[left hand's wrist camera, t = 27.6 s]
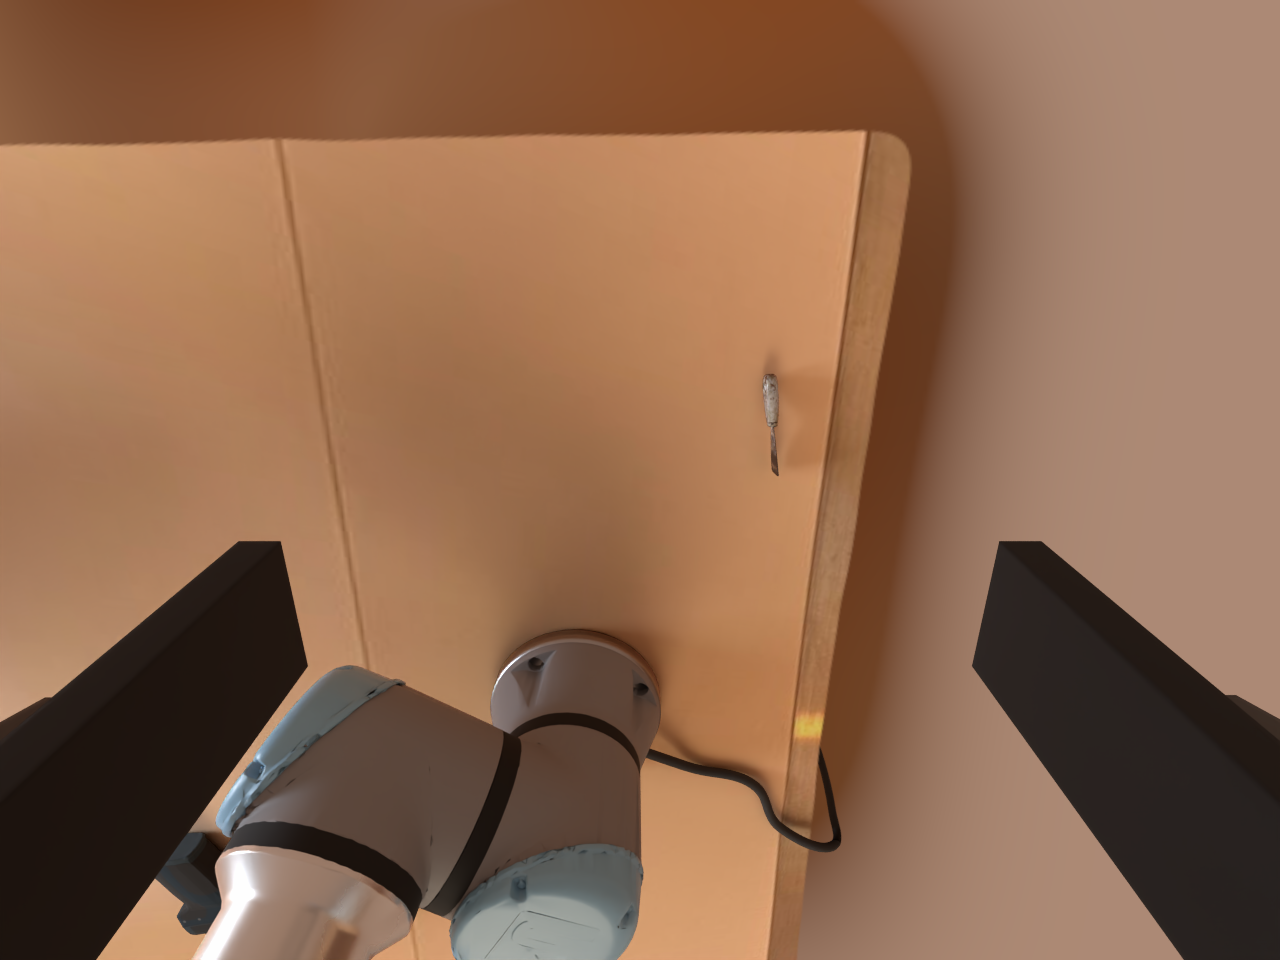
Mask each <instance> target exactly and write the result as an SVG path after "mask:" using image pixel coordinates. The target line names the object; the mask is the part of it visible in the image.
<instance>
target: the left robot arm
mask: <svg viewBox="0 0 1280 960" xmlns="http://www.w3.org/2000/svg"><path fill="white" fill-rule="evenodd" d="M307 667H308V664H307V660H306V655H305V651H304V646H303V641H302V637H301V632H300V628H299V623H298V619H297V614H296V609H295V605H294V600H293V596H292V591H291V586H290V582H289V577H288V573H287V568H286V564H285V559H284V554H283V550H282V545H281V541H238V542H237V543H236V544H235V545H234V546H232V547H231V548H230V549H229V550H228V551H227V552H225V553H224V554H223V555H222V556H221V557H219V558H218V559H217V560H216V561H215V562H213V563H212V564H211V565H210V566H209V567H207V568H206V569H205V570H204V571H203V572H201V573H200V574H199V575H198V576H197V577H195V578H194V579H193V580H192V581H191V582H189V583H188V584H187V585H186V586H185V587H183V588H182V589H181V590H180V591H179V592H177V593H176V594H175V595H174V596H173V597H171V598H170V599H169V600H168V601H167V602H166V603H164V604H163V605H162V606H161V607H160V608H158V609H157V610H156V611H155V612H154V613H152V614H151V615H150V616H149V617H148V618H146V619H145V620H144V621H143V622H142V623H140V624H139V625H138V626H137V627H136V628H134V629H133V630H132V631H131V632H130V633H128V634H127V635H126V636H125V637H124V638H122V639H121V640H120V641H119V642H118V643H116V644H115V645H114V646H113V647H112V648H111V649H109V650H108V651H107V652H106V653H105V654H103V655H102V656H101V657H100V658H99V659H97V660H96V661H95V662H94V663H93V664H91V665H90V666H89V667H88V668H87V669H85V670H84V671H83V672H82V673H81V674H79V675H78V676H77V677H76V678H75V679H73V680H72V681H71V682H70V683H69V684H67V685H66V686H65V687H64V688H63V689H61V690H60V691H59V692H58V693H57V694H55V695H54V696H53V697H52V698H43V699H41V700H40V701H38V702H36V703H34V704H32V705H31V706H29V707H27V708H25V709H23V710H22V711H20V712H18V713H16V714H14V715H13V716H11V717H9V718H7V719H5V720H3V721H2V722H0V960H96V959H97V958H98V956H99V955H100V954H101V952H102V951H103V950H104V948H105V947H106V945H107V944H108V943H109V941H110V940H111V938H112V937H113V936H114V934H115V933H116V932H117V930H118V929H119V927H120V926H121V925H122V923H123V922H124V920H125V919H126V918H127V916H128V915H129V913H130V912H131V911H132V909H133V908H134V907H135V905H136V904H137V902H138V901H139V900H140V898H141V897H142V895H143V894H144V893H145V891H146V890H147V889H148V887H149V886H150V884H151V883H152V882H153V880H154V879H155V877H156V876H157V875H158V873H159V872H160V871H161V869H162V868H163V866H164V865H165V864H166V862H167V861H168V859H169V858H170V857H171V855H172V854H173V852H174V851H175V850H176V848H177V847H178V846H179V844H180V843H181V841H182V840H183V839H184V837H185V836H186V834H187V833H188V832H189V830H190V829H191V828H192V826H193V825H194V823H195V822H196V821H197V819H198V818H199V816H200V815H201V814H202V812H203V811H204V810H205V808H206V807H207V805H208V804H209V803H210V801H211V800H212V798H213V797H214V796H215V794H216V793H217V791H218V790H219V789H220V787H221V786H222V785H223V783H224V782H225V780H226V779H227V778H228V776H229V775H230V773H231V772H232V771H233V769H234V768H235V767H236V765H237V764H238V762H239V761H240V760H241V758H242V757H243V755H244V754H245V753H246V751H247V750H248V749H249V747H250V746H251V744H252V743H253V742H254V740H255V739H256V737H257V736H258V735H259V733H260V732H261V730H262V729H263V728H264V726H265V725H266V724H267V722H268V721H269V719H270V718H271V717H272V715H273V714H274V712H275V711H276V710H277V708H278V707H279V706H280V704H281V703H282V701H283V700H284V699H285V697H286V696H287V694H288V693H289V692H290V690H291V689H292V688H293V686H294V685H295V683H296V682H297V681H298V679H299V678H300V676H301V675H302V674H303V672H304V671H305V669H306V668H307ZM972 667H973V668H974V669H975V671H976V672H977V674H978V675H979V676H980V678H981V679H982V681H983V682H984V683H985V685H986V686H987V688H988V689H989V690H990V692H991V693H992V694H993V696H994V697H995V699H996V700H997V701H998V703H999V704H1000V706H1001V707H1002V708H1003V710H1004V711H1005V712H1006V714H1007V715H1008V717H1009V718H1010V719H1011V721H1012V722H1013V724H1014V725H1015V726H1016V728H1017V729H1018V730H1019V732H1020V733H1021V735H1022V736H1023V737H1024V739H1025V740H1026V742H1027V743H1028V744H1029V746H1030V747H1031V748H1032V750H1033V751H1034V753H1035V754H1036V755H1037V757H1038V758H1039V760H1040V761H1041V762H1042V764H1043V765H1044V767H1045V768H1046V769H1047V771H1048V772H1049V773H1050V775H1051V776H1052V778H1053V779H1054V780H1055V782H1056V783H1057V784H1058V786H1059V787H1060V789H1061V790H1062V791H1063V793H1064V794H1065V796H1066V797H1067V798H1068V800H1069V801H1070V803H1071V804H1072V805H1073V807H1074V808H1075V809H1076V811H1077V812H1078V814H1079V815H1080V816H1081V818H1082V819H1083V821H1084V822H1085V823H1086V825H1087V826H1088V828H1089V829H1090V830H1091V832H1092V833H1093V834H1094V836H1095V837H1096V839H1097V840H1098V841H1099V843H1100V844H1101V846H1102V847H1103V848H1104V850H1105V851H1106V852H1107V854H1108V855H1109V857H1110V858H1111V859H1112V861H1113V862H1114V864H1115V865H1116V866H1117V868H1118V869H1119V871H1120V872H1121V873H1122V875H1123V876H1124V877H1125V879H1126V880H1127V882H1128V883H1129V884H1130V886H1131V887H1132V889H1133V890H1134V891H1135V893H1136V894H1137V895H1138V897H1139V898H1140V900H1141V901H1142V902H1143V904H1144V905H1145V907H1146V908H1147V909H1148V911H1149V912H1150V913H1151V915H1152V916H1153V918H1154V919H1155V920H1156V922H1157V923H1158V924H1159V926H1160V927H1161V929H1162V930H1163V931H1164V933H1165V934H1166V936H1167V937H1168V938H1169V940H1170V941H1171V942H1172V944H1173V945H1174V947H1175V948H1176V950H1177V951H1178V952H1179V954H1180V955H1181V956H1182V958H1183V959H1184V960H1280V719H1278V718H1277V717H1275V716H1273V715H1271V714H1269V713H1267V712H1266V711H1264V710H1262V709H1260V708H1258V707H1257V706H1255V705H1253V704H1251V703H1249V702H1247V701H1246V700H1244V699H1242V698H1240V697H1238V696H1237V695H1225V694H1223V693H1222V692H1221V691H1220V690H1219V689H1217V688H1216V687H1215V686H1214V685H1213V684H1211V683H1210V682H1209V681H1208V680H1207V679H1205V678H1204V677H1203V676H1202V675H1201V674H1199V673H1198V672H1197V671H1196V670H1195V669H1193V668H1192V667H1191V666H1190V665H1189V664H1187V663H1186V662H1185V661H1184V660H1183V659H1181V658H1180V657H1179V656H1178V655H1177V654H1175V653H1174V652H1173V651H1172V650H1171V649H1169V648H1168V647H1167V646H1166V645H1165V644H1164V643H1162V642H1161V641H1160V640H1159V639H1158V638H1156V637H1155V636H1154V635H1153V634H1152V633H1150V632H1149V631H1148V630H1147V629H1146V628H1144V627H1143V626H1142V625H1141V624H1140V623H1138V622H1137V621H1136V620H1135V619H1134V618H1132V617H1131V616H1130V615H1129V614H1128V613H1126V612H1125V611H1124V610H1123V609H1122V608H1120V607H1119V606H1118V605H1117V604H1116V603H1114V602H1113V601H1112V600H1111V599H1110V598H1109V597H1107V596H1106V595H1105V594H1104V593H1102V592H1101V591H1100V590H1099V589H1098V588H1097V587H1095V586H1094V585H1093V584H1092V583H1091V582H1089V581H1088V580H1087V579H1086V578H1085V577H1083V576H1082V575H1081V574H1080V573H1079V572H1077V571H1076V570H1075V569H1074V568H1073V567H1071V566H1070V565H1069V564H1068V563H1067V562H1065V561H1064V560H1063V559H1062V558H1061V557H1059V556H1058V555H1057V554H1056V553H1055V552H1053V551H1052V550H1051V549H1050V548H1049V547H1047V546H1046V545H1045V544H1044V543H1043V542H1041V541H999V545H998V550H997V554H996V559H995V564H994V568H993V573H992V578H991V582H990V587H989V591H988V596H987V600H986V605H985V609H984V614H983V619H982V623H981V628H980V632H979V637H978V642H977V646H976V651H975V655H974V660H973V664H972ZM660 715H661V708H660V691H659V686H658V683H657V679H656V677H655V675H654V673H653V671H652V669H651V667H650V666H649V665H648V663H647V662H646V661H645V660H644V658H643V657H642V656H641V655H640V654H639V653H637V652H636V651H635V650H634V649H633V648H631V647H630V646H628V645H627V644H625V643H624V642H622V641H620V640H618V639H616V638H613V637H611V636H608V635H605V634H602V633H598V632H593V631H586V630H562V631H556V632H551V633H547V634H544V635H541V636H539V637H536V638H534V639H532V640H530V641H528V642H526V643H525V644H523V645H522V646H520V647H519V648H518V649H517V650H515V651H514V652H513V653H512V654H511V655H510V656H509V658H508V659H507V660H506V661H505V663H504V664H503V666H502V668H501V670H500V672H499V674H498V677H497V680H496V683H495V686H494V689H493V693H492V697H491V717H492V723H493V725H490V724H488V723H486V722H484V721H482V720H480V719H477V718H475V717H473V716H471V715H469V714H467V713H464V712H462V711H460V710H458V709H456V708H454V707H451V706H449V705H447V704H445V703H443V702H441V701H438V700H436V699H434V698H432V697H430V696H427V695H425V694H423V693H421V692H419V691H417V690H414V689H412V688H410V687H408V686H406V685H405V682H404V681H402V680H399V679H393V680H391V679H389V678H386V677H384V676H381V675H379V674H376V673H374V672H371V671H369V670H366V669H364V668H361V667H358V666H351V665H348V666H342V667H339V668H336V669H334V670H332V671H330V672H329V673H327V674H325V675H324V676H323V677H322V678H320V679H319V680H318V681H317V682H316V683H315V684H314V685H313V686H312V687H311V688H310V689H309V690H308V691H307V692H306V693H305V694H304V695H303V696H302V697H301V698H300V699H299V700H298V702H297V703H296V704H295V705H294V706H293V707H292V708H291V710H290V711H289V712H288V713H287V714H286V716H285V717H284V718H283V719H282V720H281V722H280V723H279V724H278V725H277V727H276V728H275V729H274V730H273V732H272V733H271V734H270V735H269V737H268V738H267V739H266V741H265V742H264V743H263V745H262V746H261V747H260V749H259V750H258V751H257V753H256V754H255V757H254V760H253V762H251V763H250V764H249V765H248V766H247V768H246V769H245V771H244V772H243V773H242V774H241V776H240V777H239V778H238V779H237V781H236V782H235V784H234V785H233V786H232V788H231V790H230V791H229V793H228V794H227V796H226V798H225V799H224V801H223V803H222V805H221V807H220V809H219V811H218V814H217V817H216V825H217V827H218V828H220V829H221V830H222V833H223V834H224V835H225V836H227V837H230V838H231V839H230V841H229V843H228V844H227V846H226V847H225V849H224V851H223V852H222V854H221V855H220V857H219V859H218V860H217V862H216V865H215V873H216V878H217V882H218V887H219V891H220V896H221V900H222V904H221V910H220V912H219V913H218V915H217V917H216V918H215V920H214V922H213V924H212V925H211V927H210V929H209V930H208V932H207V934H206V935H205V937H204V939H203V941H202V942H201V944H200V946H199V947H198V949H197V951H196V952H195V954H194V956H193V958H192V959H191V960H371V959H372V958H373V957H374V956H375V955H376V954H378V953H380V952H381V951H383V950H385V949H386V948H388V947H390V946H391V945H393V944H395V943H396V942H398V941H400V940H401V939H403V938H404V937H406V936H407V935H408V933H409V932H410V929H411V927H412V924H413V922H414V919H415V916H416V914H417V911H418V909H419V908H421V909H424V910H427V911H429V912H432V913H434V914H437V915H439V916H441V917H444V918H446V919H449V920H451V926H450V930H449V932H450V938H451V948H452V952H453V956H454V957H455V959H456V960H617V959H618V958H619V957H620V956H621V954H622V953H623V952H624V951H625V949H626V948H627V947H628V945H629V943H630V941H631V940H632V938H633V935H634V933H635V930H636V927H637V922H638V916H639V904H640V893H641V886H642V880H643V873H644V872H643V867H642V864H641V800H640V769H641V767H642V765H643V763H644V760H645V758H648V759H651V760H654V761H657V762H660V763H663V764H666V765H669V766H672V767H675V768H678V769H681V770H684V771H688V772H691V773H695V774H699V775H704V776H710V777H717V778H724V779H729V780H733V781H737V782H739V783H742V784H744V785H746V786H748V787H749V788H751V789H752V790H753V791H754V792H755V793H756V794H757V795H758V797H759V798H760V800H761V803H762V806H763V809H764V812H765V814H766V817H767V819H768V821H769V822H770V824H771V825H772V826H773V827H774V828H775V829H776V830H777V831H778V832H779V833H781V834H782V835H784V836H785V837H787V838H788V839H790V840H792V841H793V842H795V843H797V844H799V845H801V846H803V847H805V848H808V849H810V850H814V851H818V852H831V851H834V850H836V849H837V848H838V847H839V846H840V844H841V829H840V825H839V821H838V817H837V813H836V807H835V801H834V796H833V791H832V787H831V782H830V778H829V774H828V770H827V767H826V763H825V760H824V757H823V753H822V750H821V747H820V746H819V753H818V765H819V769H820V773H821V776H822V781H823V785H824V790H825V795H826V800H827V806H828V813H829V818H830V822H831V826H832V831H833V839H832V841H830V842H827V843H820V842H816V841H812V840H810V839H807V838H805V837H803V836H801V835H799V834H797V833H796V832H794V831H792V830H791V829H789V828H788V827H786V826H785V825H784V824H782V823H781V822H780V821H779V820H778V819H777V817H776V816H775V814H774V812H773V809H772V806H771V803H770V800H769V797H768V795H767V793H766V791H765V790H764V788H763V787H762V786H761V785H760V784H759V783H758V782H757V781H755V780H754V779H752V778H751V777H749V776H747V775H745V774H742V773H739V772H736V771H731V770H726V769H720V768H713V767H707V766H702V765H698V764H694V763H690V762H687V761H684V760H681V759H678V758H675V757H672V756H670V755H667V754H664V753H661V752H658V751H655V750H652V749H650V746H651V744H652V742H653V739H654V737H655V735H656V733H657V730H658V727H659V723H660Z"/></svg>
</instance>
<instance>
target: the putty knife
mask: <svg viewBox="0 0 1280 960" xmlns="http://www.w3.org/2000/svg"><path fill="white" fill-rule="evenodd" d="M763 396H764V405H765V414H766V420H767V424H768V426H769V427H771V464H772V471H773V472H774V473H775V474H776V475H777V476H779V474H778V464H777V453H776V443H775V434H774V427H776V426H777V422H778V404H779V400H778V383H777V378H776V376H775V375H774V374H767V375H765V376H764V378H763Z"/></svg>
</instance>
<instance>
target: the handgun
mask: <svg viewBox="0 0 1280 960" xmlns="http://www.w3.org/2000/svg"><path fill="white" fill-rule="evenodd" d="M221 854H222V853H221V852H220V851H219V850H218V849H217V848H216V847H215V846H214V845H213V844H212V843H211V842H210V841H209V840H208V839H207V838H206V837H205V834H204V833H187V834H186V836H185V837H184V839H183V840H182V841H181V843H180V844H179V846H178V847H177V848H176V850H175V851H174V852H173V854H172V855H171V857H170V858H169V859H168V861H167V862H166V864H165V865H164V866H163V868H162V869H161V871H160V872H159V873H158V875H157V876H156V877H155V879H156V880H158V881H159V882H160V883H161V884H162V885H163V886H164V887H165V888H166V889H168V890H169V891H170V892H171V893H172V894H173V895H174V896H176V897H177V898H178V899H179V900H181V901H182V902H183V903H184V904H183V906H182V908H181V910H180V911H179V913H178V915H177V918H178V920H179V921H180V923H181V925H182V927H183V928H184V929H185V930H186V931H187V932H189V933H190V934H193V935H198V934H204V933H205V934H207V932H208V930H209V929H210V927H211V925H212V924H213V922H214V920H215V918H216V917H217V915H218V913H219V912H220V910H221V904H222V900H221V896H220V891H219V887H218V882H217V878H216V873H215V865H216V862H217V860H218V859H219V857H220V855H221Z"/></svg>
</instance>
